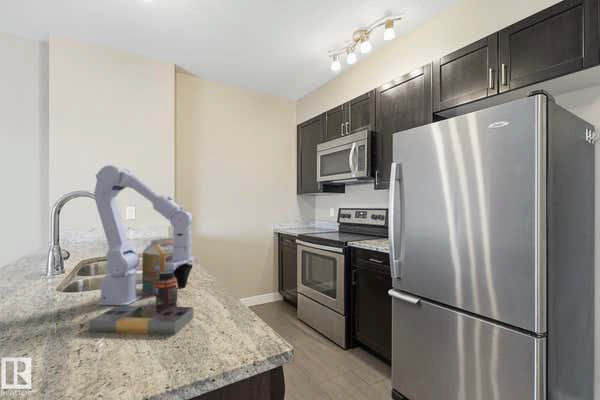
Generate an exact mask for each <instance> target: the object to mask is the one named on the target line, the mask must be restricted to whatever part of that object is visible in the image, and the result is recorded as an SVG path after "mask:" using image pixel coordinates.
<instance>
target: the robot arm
mask: <svg viewBox="0 0 600 400" xmlns="http://www.w3.org/2000/svg"><path fill="white" fill-rule="evenodd" d="M95 179H96V184H95V188H94V193H93V198H94V201H95V204H96V208H97V211H98V215H99V217H100V220H101V221H100V222H101V224H102V228H103V231H104V234H105V238H106V242H107V244H108V250H107V252H106V254H105V255H106V264H105V268H106V271H107V273H108V274H106V275H105V276H104V277H103V278H102V280H101V282H100V302H98V305H99V306H100V305H101V306H129V305H130V304H132V303H134V302H136V301H138V300H140V299H141V298H143V296H142V295H137V267H138V266H139V265H140V256H139V255H138V254H137V252H135V249H134V246H132V245H131V244H130V243H129V241H128V238H127V234H126V232H125V227H124V224H123V220H122V218H121V215H120V214H121V213H120V210H119V206H118V204H117V201H116V197H118V195H119V193H120V192H122V191H123V190H124V189H126V188H130V189H133V190H134V191H136V192H137V193H138V194H140V195H141V196H142V197H144V198H145V199H146V200H148V201H149V202H151V203H152V208H153V210H154V211H156V212H157V213H159V214H160V215H162V216H163V218H164V219H167V220H168V221H169V222H170V225H171V226H172V237H173V260H172V261H171V263H169V264H168V270H172V271H174V275H175V278H176V279H177V285H178V288H182V289H185V288H184V287H187V283H188V280H189V279H188V278H189V275H190V273H191V271H192V268H193V264H191V263H194V262H195V255H192V227H191V226H192V224H193V219H194V217H193V215H192V213H191V211H189V210H185V209H184V206H181V205H179V204H177V203H176V202H174V201H173V199H174V198H172V196H167V195H160V194H159V193H157V192H156V191H155V190H154V189H153V188H152V187H150V185H148V184H147V183H146V182H144V180H142V179H141V178H140V177H139V176H137V174H135V173H132V172H131V171H130V170H128V169H126V168H120V167H117V166H114V165H109V164H108V165H105V166H103V167H101V168H100V170H99V171H98V172H97V173H96V174H95Z"/></svg>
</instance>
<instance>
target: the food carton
mask: <svg viewBox="0 0 600 400" xmlns="http://www.w3.org/2000/svg"><path fill="white" fill-rule="evenodd" d="M172 260H173V236H172V237H164V238H158V239H157V238H156V239H151V240H150V244H149V245H147V246H146V247H145V248H144V249H143V251H142V280H141V281H142V284H141V285H142V286H141V288H142V290H143V291H142V290H141V291H142V292H145V291H146V292H147V293H149V292H150V294H153V293H154V295H156V281H157V280H158V279H159V278H160V277H159V273H160V272H162V271H172V270H168V264H169V263H171V261H172ZM174 277H175V275H174ZM186 287H187V286H186ZM186 287H184V288H178V285H177V291H178V289H179V290H181V289H186Z"/></svg>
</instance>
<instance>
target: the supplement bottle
mask: <svg viewBox="0 0 600 400" xmlns="http://www.w3.org/2000/svg"><path fill="white" fill-rule="evenodd" d="M159 277H160V278H159V279H158V280H157V281H156V294H155V311H156V312H158V313H161V312H162V311H163V310H165V309H166V308H168V307H178V290H177V279H176V278H175V277H174V271H162V272H160V273H159Z"/></svg>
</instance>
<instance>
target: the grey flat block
mask: <svg viewBox="0 0 600 400" xmlns="http://www.w3.org/2000/svg"><path fill="white" fill-rule="evenodd" d="M142 308H143V307H142V306H141V305H115V306H114V307H113V308H110V309H108V310H107V311H105V312H103V313H100V314H98V315H97V316H95V317H92V318H90V319H89V331H88V332H89V333H107V334H109V333H110V334H140V335H141V334H142V335H143V334H145V335H147V334H148V335H176V334H178V332H180V331H181V330H182V329H183V328H184V327H186V325H187V324H189V322H190V321H191V320H193V319H194V307H193V306H177V307H168V308H166V309H165V310H163V311H162V312H158V314H156V315H154V316H153V317H142V316H143V315H142V314H143V313H142V312H143V311H142V310H143V309H142Z"/></svg>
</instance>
